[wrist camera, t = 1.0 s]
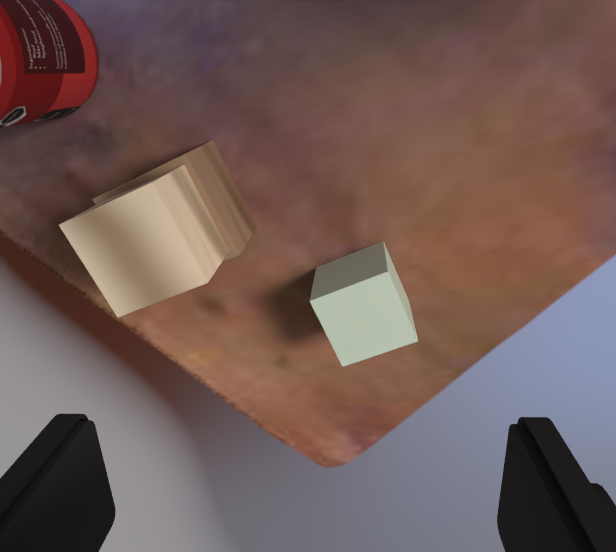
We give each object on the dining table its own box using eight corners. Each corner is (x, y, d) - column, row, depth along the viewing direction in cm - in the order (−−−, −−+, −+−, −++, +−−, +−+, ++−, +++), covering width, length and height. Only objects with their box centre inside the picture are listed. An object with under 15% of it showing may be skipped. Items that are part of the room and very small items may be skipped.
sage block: (383, 240, 36) (388, 271, 31) (409, 301, 38) (418, 341, 32) (316, 267, 37) (309, 301, 32) (344, 324, 39) (342, 366, 34)
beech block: (184, 164, 29) (152, 182, 25) (229, 251, 31) (207, 282, 27) (102, 201, 31) (58, 225, 26) (151, 282, 33) (117, 317, 28)
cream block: (212, 139, 34) (185, 153, 29) (257, 226, 37) (239, 255, 31) (132, 179, 36) (91, 199, 31) (179, 260, 38) (149, 292, 33)
